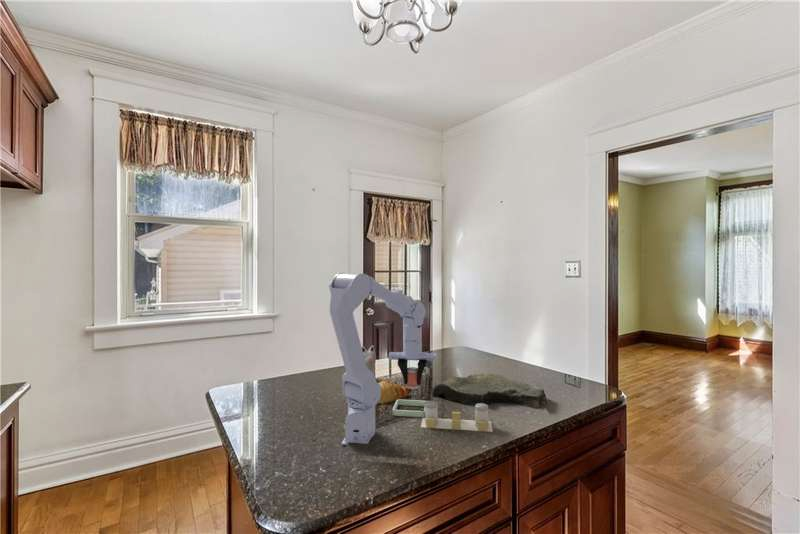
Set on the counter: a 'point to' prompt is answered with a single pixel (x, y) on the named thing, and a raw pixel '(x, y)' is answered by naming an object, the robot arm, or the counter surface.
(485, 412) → the grey fuse
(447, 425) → the fuse block
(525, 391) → the stone
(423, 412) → the tray
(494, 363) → the counter surface
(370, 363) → the toy
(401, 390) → the croissant
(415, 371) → the red fuse
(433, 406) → the grey fuse
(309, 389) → the counter surface
